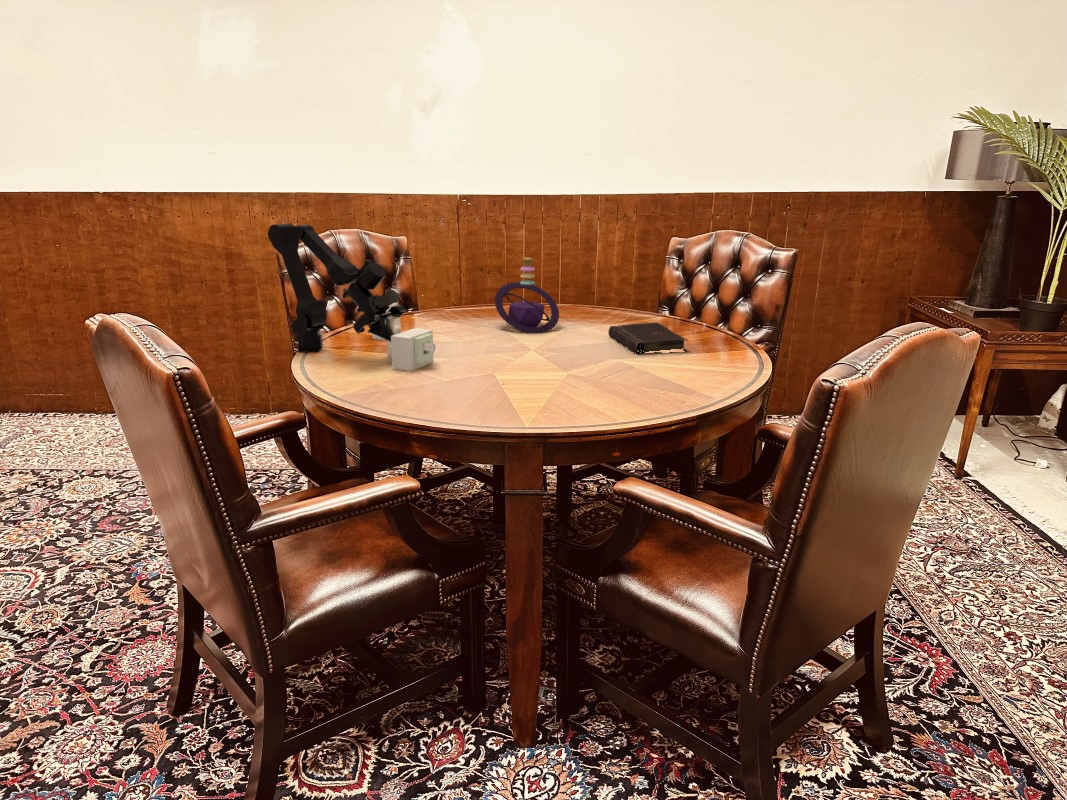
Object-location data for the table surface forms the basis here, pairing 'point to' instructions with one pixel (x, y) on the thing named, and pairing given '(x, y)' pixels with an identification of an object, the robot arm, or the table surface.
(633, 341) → the diary
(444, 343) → the table surface
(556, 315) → the decorative bottle
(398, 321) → the grey piece
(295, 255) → the robot arm
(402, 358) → the block
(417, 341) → the spacer
